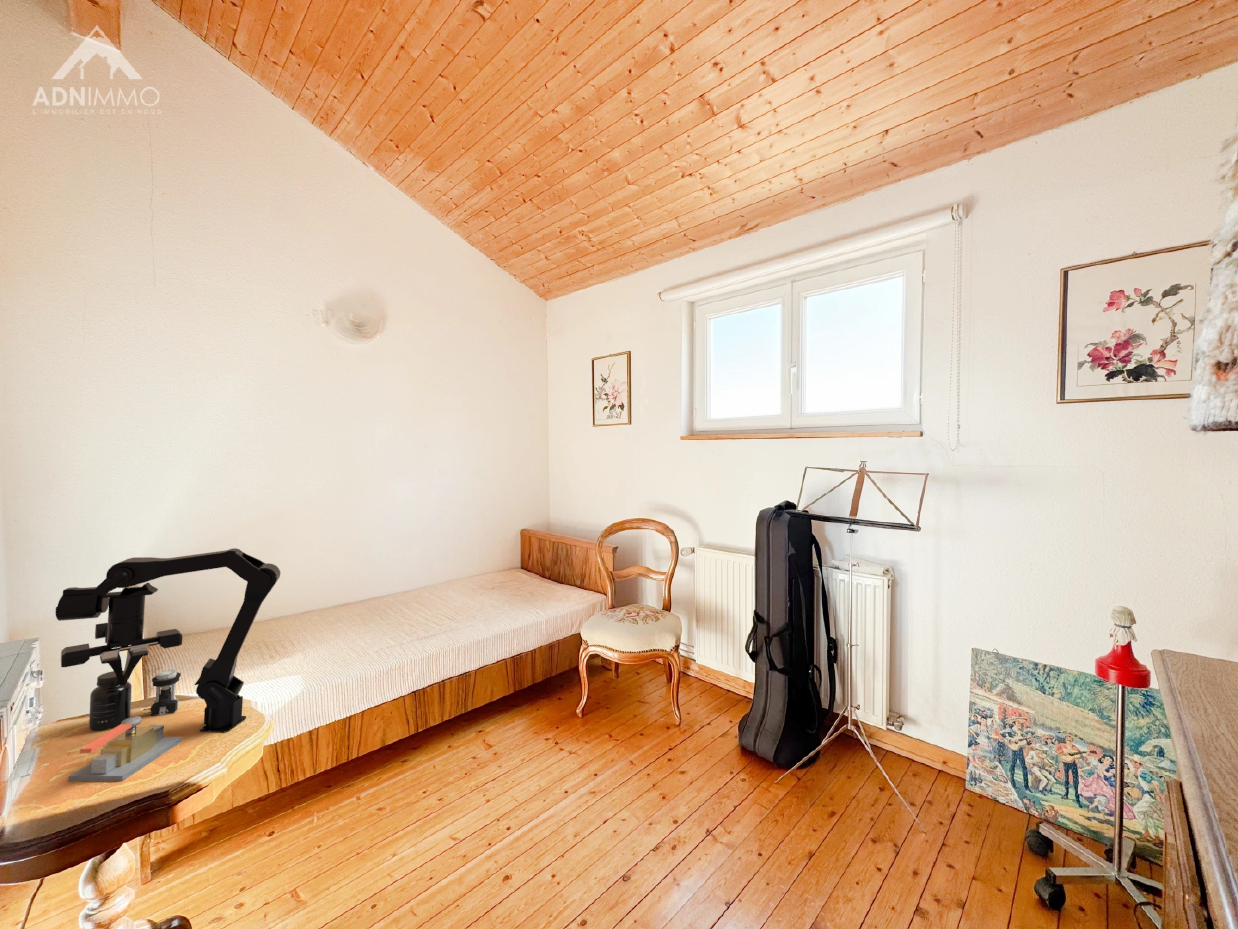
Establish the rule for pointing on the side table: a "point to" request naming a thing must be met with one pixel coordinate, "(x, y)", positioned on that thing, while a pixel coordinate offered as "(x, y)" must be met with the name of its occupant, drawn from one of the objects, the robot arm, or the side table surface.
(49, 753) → the side table surface
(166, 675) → the push button
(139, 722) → the lever
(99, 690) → the supplement bottle
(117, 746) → the valve
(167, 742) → the board
